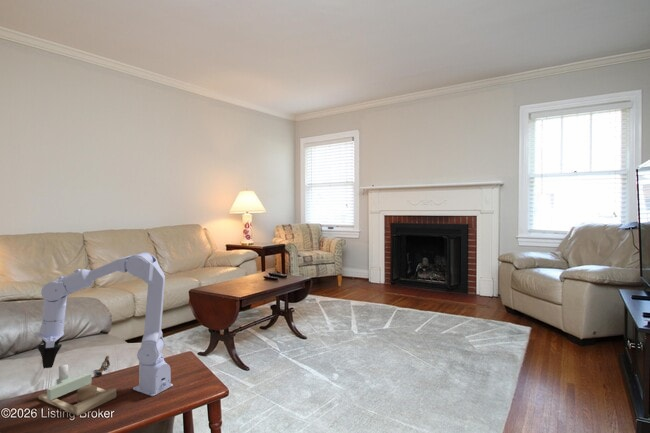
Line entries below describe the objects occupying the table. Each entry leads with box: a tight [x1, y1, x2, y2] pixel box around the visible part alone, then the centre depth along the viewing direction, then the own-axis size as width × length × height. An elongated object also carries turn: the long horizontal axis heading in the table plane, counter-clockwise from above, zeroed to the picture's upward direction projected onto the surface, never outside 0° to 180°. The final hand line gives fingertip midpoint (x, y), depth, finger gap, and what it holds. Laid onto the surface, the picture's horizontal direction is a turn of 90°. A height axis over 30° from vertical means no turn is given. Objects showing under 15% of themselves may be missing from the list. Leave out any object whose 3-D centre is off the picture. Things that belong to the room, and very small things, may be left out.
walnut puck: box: [76, 384, 98, 404], centre depth 111 cm, size 5×5×4 cm
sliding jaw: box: [46, 363, 93, 400], centre depth 116 cm, size 6×12×7 cm, turn 154°
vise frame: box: [38, 384, 117, 417], centre depth 113 cm, size 20×12×2 cm, turn 64°
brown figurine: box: [95, 355, 111, 376], centre depth 132 cm, size 2×8×4 cm, turn 7°
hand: (48, 362), depth 114 cm, fingers open, 7 cm apart
